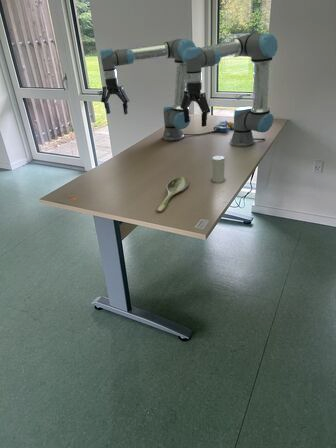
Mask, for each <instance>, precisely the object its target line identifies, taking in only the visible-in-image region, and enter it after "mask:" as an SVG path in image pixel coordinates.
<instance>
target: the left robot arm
mask: <svg viewBox="0 0 336 448" xmlns="http://www.w3.org/2000/svg"><path fill="white" fill-rule="evenodd" d="M191 47H197V46H196V44H195V42H194V41H193V40H191V39H189V38H177V39H173V40H169V41H163V42H162V44H153V45H144V46H138V47H137V46H136V47H130V48H123V49H115V50H113V48H104V49H101V50H100V60H101V61H100V62H101V65H102V71H103V77H104V82H105V86H102V94H101V98H100V103H103V105H104V109H105V111H106V114H107V115H109V114H111V109H110V103H109V99H110V98H111V95H115V96H117V97H118V98H119V99H120V100H121V102H122V109H123V115H128V114H129V113H128V108H129V107H128V103H130V99H129V97H128V95H127V93H126V92H125V88H124V86H123V85H120V86H119V80H118V73H117V67H119V66H127V65H131V64H132V65H133V64H134V63H135V62H138V61H146V60H153V59H160V58H164V59H174V64H175V66H176V68H175V84H174V85H175V86H174V99H173V100H174V101H173V105H166V106H165V107H163V108H162V109H163V112H162V113H163V122H164V130H163V135H162V139H163V140H164V141H167V142H176V141H180V140H182V139H184V137H185V136H202V135H207V134H210V133H211V134H212V133H216V132H218V131H214V130H212V131H208V132H204V133H203V132H202V133H192V134H191V133H184V132H183V130H184V129H187V127H188V126H190V124H191V115H190V114H189V122H187V123H185V120H184V110H183V109H182V108H181V104H182V100H183V97H184V91H188V90H187V83H188V82H187V73H186V64H184V63H183V60H182V55H183V53H184V51H186V49H187V48H191ZM183 106H184V105H183ZM187 110H189V111H190V108H189V107H188V109H187ZM230 130H234V128H230ZM230 130H229V131H230Z"/></svg>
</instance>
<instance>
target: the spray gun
mask: <svg viewBox="0 0 336 448" xmlns="http://www.w3.org/2000/svg"><path fill="white" fill-rule="evenodd" d="M232 128H234V121H227V120H220V121H219V122H218V123H217V124H216V125H215V126H214V127H213V131H217V132H220V133H228V132H230V129H232Z"/></svg>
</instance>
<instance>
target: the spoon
mask: <svg viewBox="0 0 336 448" xmlns="http://www.w3.org/2000/svg"><path fill="white" fill-rule="evenodd" d="M189 184H190V182H189V179H188V177H186V176H179V177H175V178H173V179H172V180H170V181H169V182H168V183H167V184H166V190H167V196H166V197H165V198H164V200H163V201H162V202H161V203H160V205H159V206H158V208H157V212H159V213H161V212H163V211H164V210H166V207H167V205H168V203H169V201H170V199H171V198H172V197H173V196H175V195H177V194H178V193H181V192H182V191H184V190H185V189H187V187H188V186H189Z"/></svg>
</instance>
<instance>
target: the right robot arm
mask: <svg viewBox="0 0 336 448" xmlns="http://www.w3.org/2000/svg"><path fill="white" fill-rule="evenodd" d="M278 46H279V45H278V40H277V37H276V36H275V35H274V34H272V33H267V32H266V33H265V32H264V33H263V32H262V33H248V34H245V35H241V36H238V37H235V38H232V39H231V40H230V41H226V42H221V43H216V44H212V45H208V46H196V47H191V48H187V49H186V51H184V53H183V55H182V60H183V63H184V64H186V73H187V82H188V83H187V90H188V91H184V97H183V100H182V104H181V108H182V109H183V110H184V120H185V123H187V122H189V115H190V109H189V110H187V109H188V108H189V107H190V105H191V104H192V102H195V103H196V104H197V105H198V107H199V109H200V111H201V127H202V128H204V127H206V126H207V120H208V113H211V109H210V106H209V102H208V100H207V96H206V95H207V94H206V92H201V91H202V89H203V83H202V81H203V77H202V68H208V67H215V66H218V65H219V64H220V62H221V60H222V59H225V58H230V57H233V58H238V57H246V58H250V62H251V64H253V81H252V84H253V85H252V91H253V92H252V106H244V107H238V108H236V109H234V113H233V123H234V129H233V133H232V136H231V138H230V145H232V146H235V147H250V146H252V145H254V143H255V141H265V140H266V138H259V137H258V138H256V137H255V138H254V136H253V132H257V133H267V132H268V131H269V130H270V129H271V128H272V126H273V123H274V115H273V114H272V113H270V112H271V108H270V107H269V106H268V105H269V103H268V101H269V80H270V76H269V75H270V63H271V62H272V61H273V58H274V57H275V55H276V54H277V52H278ZM183 105H184V106H183ZM252 131H253V132H252Z"/></svg>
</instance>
